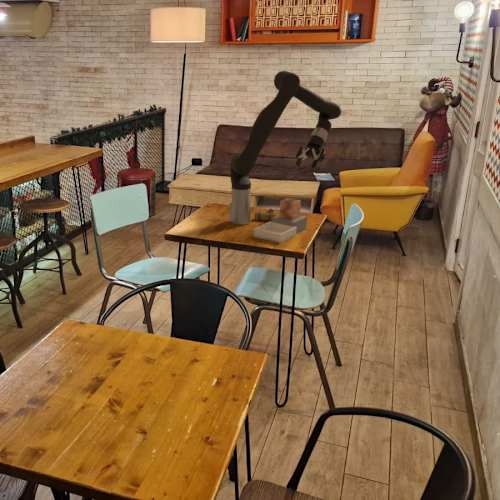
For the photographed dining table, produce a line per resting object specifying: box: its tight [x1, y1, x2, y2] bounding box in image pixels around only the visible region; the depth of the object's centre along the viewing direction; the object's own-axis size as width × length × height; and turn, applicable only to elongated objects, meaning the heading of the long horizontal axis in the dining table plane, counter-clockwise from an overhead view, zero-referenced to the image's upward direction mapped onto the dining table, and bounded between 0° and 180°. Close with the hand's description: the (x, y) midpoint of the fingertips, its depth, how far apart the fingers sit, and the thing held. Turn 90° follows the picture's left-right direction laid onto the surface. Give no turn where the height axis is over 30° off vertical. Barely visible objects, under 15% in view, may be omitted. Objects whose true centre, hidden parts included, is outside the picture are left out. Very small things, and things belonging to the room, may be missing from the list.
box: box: [253, 221, 297, 244], centre depth 214 cm, size 14×14×4 cm
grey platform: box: [272, 214, 308, 235], centre depth 224 cm, size 12×12×6 cm
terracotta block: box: [279, 197, 302, 220], centre depth 222 cm, size 7×7×8 cm
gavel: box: [254, 208, 277, 222], centre depth 245 cm, size 21×5×10 cm
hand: (305, 167), depth 229 cm, fingers open, 8 cm apart
